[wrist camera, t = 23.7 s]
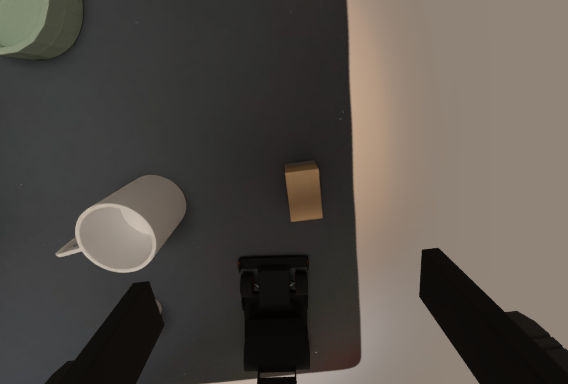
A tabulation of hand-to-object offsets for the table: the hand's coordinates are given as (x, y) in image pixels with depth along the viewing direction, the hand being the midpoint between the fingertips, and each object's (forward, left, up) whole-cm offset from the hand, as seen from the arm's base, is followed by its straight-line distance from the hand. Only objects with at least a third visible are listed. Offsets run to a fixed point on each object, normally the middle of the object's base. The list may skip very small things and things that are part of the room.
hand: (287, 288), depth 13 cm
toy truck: (+17, +17, -25) cm, 35 cm away
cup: (+18, -9, -25) cm, 32 cm away
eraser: (0, +4, -25) cm, 25 cm away
